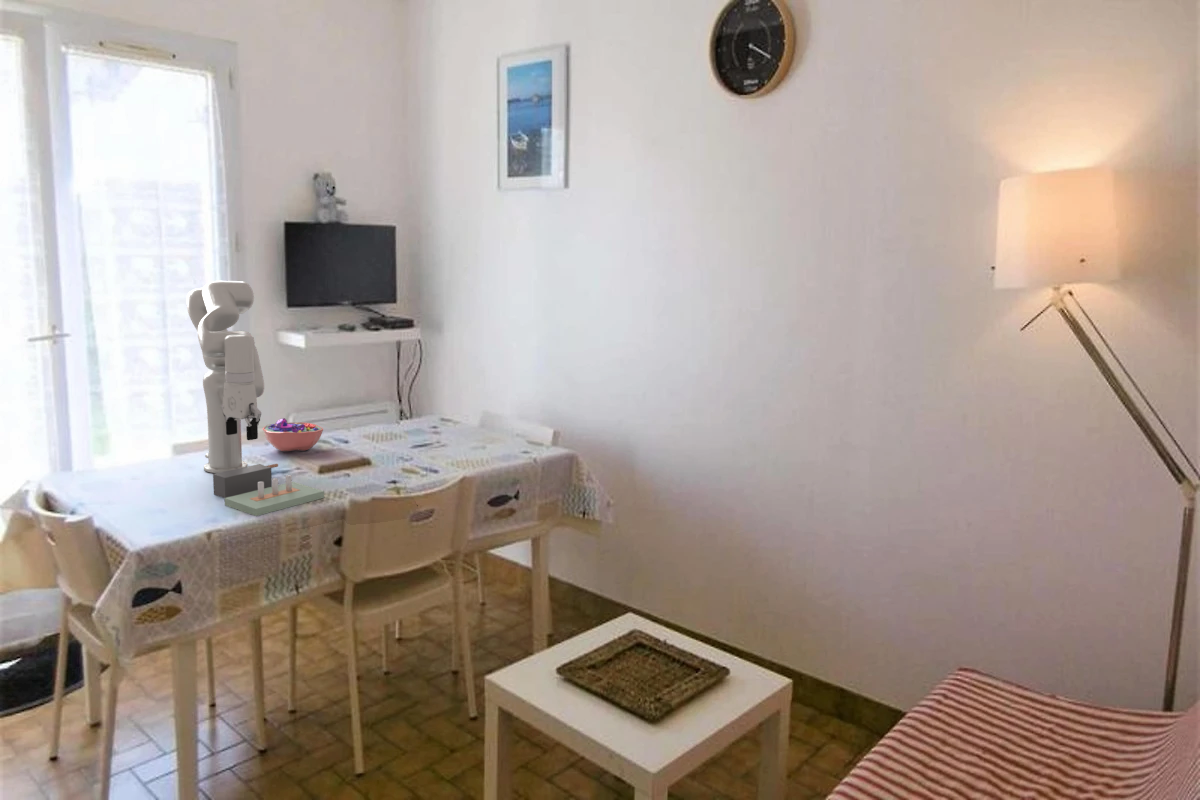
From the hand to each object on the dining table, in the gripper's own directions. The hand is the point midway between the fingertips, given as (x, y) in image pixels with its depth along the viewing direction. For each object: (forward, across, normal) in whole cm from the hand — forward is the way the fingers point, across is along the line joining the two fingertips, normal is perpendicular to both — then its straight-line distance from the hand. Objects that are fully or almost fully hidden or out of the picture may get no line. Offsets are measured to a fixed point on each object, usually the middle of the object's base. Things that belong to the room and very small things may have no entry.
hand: (242, 436), depth 244 cm
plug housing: (+16, -1, +2) cm, 16 cm away
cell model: (+16, -29, +38) cm, 50 cm away
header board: (+16, +14, 0) cm, 22 cm away
